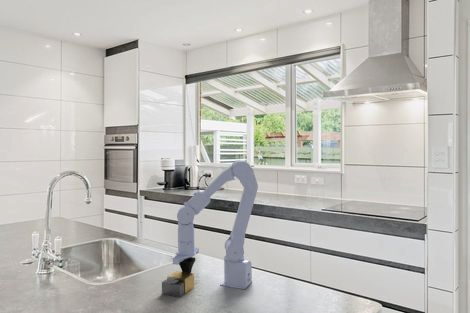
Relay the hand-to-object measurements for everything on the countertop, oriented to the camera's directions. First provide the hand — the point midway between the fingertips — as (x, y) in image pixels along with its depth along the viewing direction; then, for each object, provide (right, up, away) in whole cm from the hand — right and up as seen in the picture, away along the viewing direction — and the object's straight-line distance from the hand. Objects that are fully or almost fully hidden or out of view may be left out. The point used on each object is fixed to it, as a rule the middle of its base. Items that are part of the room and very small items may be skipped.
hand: (186, 278), depth 129 cm
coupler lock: (-2, -2, -4) cm, 4 cm away
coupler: (-2, -2, -6) cm, 7 cm away
